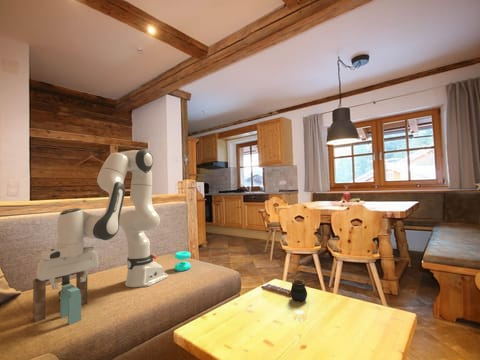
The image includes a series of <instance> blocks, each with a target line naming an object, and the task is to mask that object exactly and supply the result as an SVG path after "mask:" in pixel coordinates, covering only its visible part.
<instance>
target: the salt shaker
mask: <svg viewBox="0 0 480 360" xmlns="http://www.w3.org/2000/svg"><path fill="white" fill-rule="evenodd" d="M70 276H71V275H70ZM70 276H66V277H62V278H61V283H60V284H61V287H62V286H64V285H68V284H71V281H70ZM60 291H62V289H61V290H59V291H58V293H57V295H58V296H59V297H60ZM58 302H60V298H59V299H58Z"/></svg>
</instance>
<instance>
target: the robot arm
mask: <svg viewBox="0 0 480 360" xmlns="http://www.w3.org/2000/svg"><path fill="white" fill-rule="evenodd" d="M153 165H154V157H153V155H152V154H151V151H148V150H145V149H140V150H139V149H137V150H136V149H133V150H126V151H119V152H112V153H110V154H109V155H108V157H107V158H106V160H105V161H104V163H103V164H102V166H101V168H100V170H99V173H98V175H97V178H96V179H97V180H96V182H97V185H98V186H99V187H100V189H101V190H102V191H105V192H106V193H108V202H107V204H106V208H105V211H104V213H103V214H102V215H96V214H91V213H88V212H86V211H84V210H83V209H82V208H78V207H77V208H70V209H64V210H63V211H62V212H60V213H59V215H58V218H57V223H56V227H57V228H56V234H57V241H56V246H54V247H52V248H49V249H47V250H45V251H42V252H41V254H40V257H41V259H40V260H39V261H38V264H37V267H36V279H37V278H38V279H39V280H41V281H43V280H47V279H49V281H48V282H49V283H50V285H51V290H53V291H54V290H58V289H59V283H57V282H56V283H55V281H56V279H55V278H56V277H60V276H64V275H69V274H73V273H77V272H81V271H83V272H85V273H84V274H83V276H82V277H80V282H85V281H86V276H87V277H88V275H89V273H90V271H91V270H93V269H96V268H98V266H99V256H98V255H99V248H98V247H97V246H95V245H91V246H84V242H85V240H84V239H85V238H88V239H89V238H90V239H98V240H103V241H109V240H111V239H113V238H114V237H115V236H116V235H117V233H119V229H120V228H121V229H122V230H123V233H124V234H125V237H126V241H127V253H128V254H127V262H126V263H127V264H126V266H127V273H126V277H125V278H126V279H125V282H124V285H125V287H128V288H141V287H142V288H143V287H151V286H152V285H154V284H157V283H158V282H161V281H162V280H165V279H167V278H168V277H169V275H168V273H167V272H164V271H165V270H164V267H163V266H162V265H161V264H159V262H156V261H154V260H155V259H157V255H156V254H151V242H150V239H149V238H148V236H146V233H145V232H151V231H155V230H156V229H158V228H159V226H160V224H161V217H160V214H159V213H157V212H156V210H155V208H154V205H153V200H152V199H153V198H152V197H153V172H152V168H153ZM128 172H131V174H132V176H131V184H130V195H129V198H130V201H131V203H133V204H134V209H135V210H134V209H133V210H132V209H131V210H126V211H123V212H122V208H123V204H124V200H125V199H124V198H125V193H126V187H125V185H124V182H125V179H126V176H127V173H128Z"/></svg>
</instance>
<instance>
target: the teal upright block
mask: <svg viewBox="0 0 480 360" xmlns="http://www.w3.org/2000/svg"><path fill="white" fill-rule="evenodd" d="M61 290H62V291H61ZM61 290H59V291H60V296H59V299H60V301H59V302H60V304H59V305H60V306H59V308H60V309H59V311H60V312H59V317H60V318H65V317H67V324H68V325H69V326H70V325H72V324H75V323H78V322H80V321H82V306H81V294H80V289H78V288H77V287H76V286H75V285H73V284H72V283H70V284H68V285H64V286H62V285H61Z"/></svg>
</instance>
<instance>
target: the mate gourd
mask: <svg viewBox="0 0 480 360" xmlns="http://www.w3.org/2000/svg"><path fill="white" fill-rule="evenodd" d="M305 285H306V282H305V281H304V280H302V279H293V280H292V281H291V288H290V291H289V294H290V297H291V299H292V300H293V301H294V302H296V303H303V302H305V301H306V300H307V297H308V291H307V288H306V286H305Z"/></svg>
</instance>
